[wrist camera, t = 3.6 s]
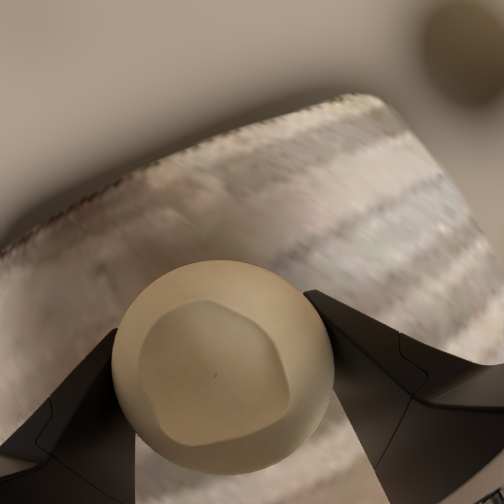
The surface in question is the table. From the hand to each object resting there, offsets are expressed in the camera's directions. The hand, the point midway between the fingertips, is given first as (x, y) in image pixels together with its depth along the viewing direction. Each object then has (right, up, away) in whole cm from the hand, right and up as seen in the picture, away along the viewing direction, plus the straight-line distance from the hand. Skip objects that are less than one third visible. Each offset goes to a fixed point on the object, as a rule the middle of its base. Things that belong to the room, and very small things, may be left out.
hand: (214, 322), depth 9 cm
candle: (0, -3, +6) cm, 7 cm away
